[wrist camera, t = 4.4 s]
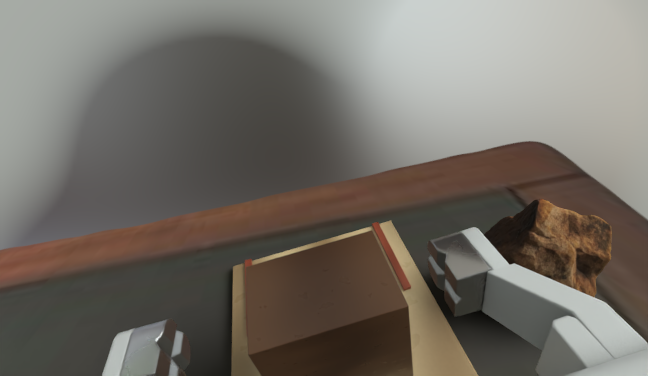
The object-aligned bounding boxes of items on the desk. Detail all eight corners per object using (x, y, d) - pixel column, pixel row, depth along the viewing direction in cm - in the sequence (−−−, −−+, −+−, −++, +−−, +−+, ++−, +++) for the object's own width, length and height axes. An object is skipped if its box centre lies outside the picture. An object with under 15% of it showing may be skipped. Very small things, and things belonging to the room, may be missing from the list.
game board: (233, 471, 26) (227, 467, 25) (235, 270, 42) (231, 264, 41) (483, 391, 27) (485, 384, 26) (391, 225, 43) (390, 218, 42)
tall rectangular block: (292, 425, 27) (247, 355, 20) (282, 339, 32) (245, 263, 26) (414, 386, 27) (409, 306, 21) (383, 308, 33) (371, 227, 26)
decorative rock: (581, 283, 32) (619, 194, 26) (594, 344, 28) (643, 255, 21) (446, 262, 37) (449, 183, 30) (440, 311, 33) (442, 231, 26)
